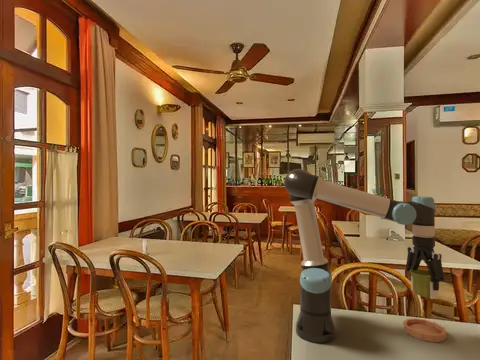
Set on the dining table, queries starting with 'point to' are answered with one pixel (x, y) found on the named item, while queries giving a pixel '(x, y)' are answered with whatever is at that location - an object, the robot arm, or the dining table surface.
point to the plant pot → (421, 282)
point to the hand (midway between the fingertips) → (424, 294)
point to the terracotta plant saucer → (424, 330)
